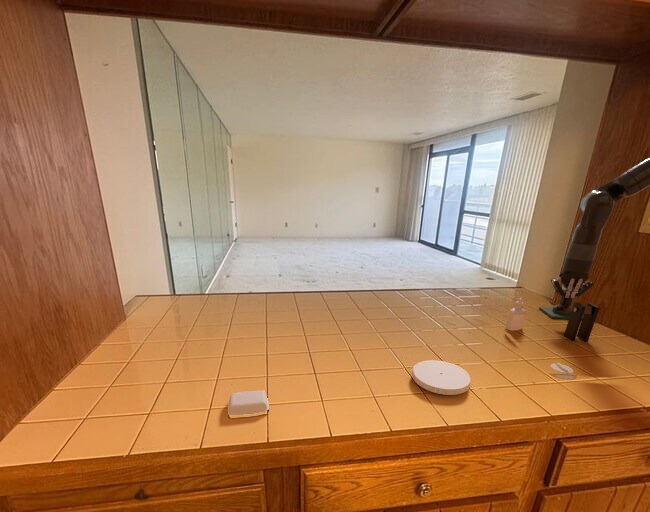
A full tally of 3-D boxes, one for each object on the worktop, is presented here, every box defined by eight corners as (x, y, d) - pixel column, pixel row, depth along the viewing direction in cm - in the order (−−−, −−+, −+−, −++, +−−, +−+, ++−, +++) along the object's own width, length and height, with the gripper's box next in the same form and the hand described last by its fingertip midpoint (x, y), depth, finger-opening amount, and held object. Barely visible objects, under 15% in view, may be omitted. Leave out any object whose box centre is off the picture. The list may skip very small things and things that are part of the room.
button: (565, 307, 132) (567, 302, 131) (571, 310, 128) (572, 306, 128) (555, 306, 132) (557, 302, 131) (561, 310, 128) (562, 305, 128)
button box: (569, 313, 136) (572, 304, 134) (585, 323, 126) (588, 313, 125) (538, 312, 136) (540, 302, 135) (550, 321, 127) (553, 311, 126)
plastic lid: (431, 362, 97) (432, 355, 96) (479, 384, 88) (481, 375, 87) (400, 380, 89) (401, 371, 88) (450, 405, 79) (452, 396, 78)
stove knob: (565, 366, 97) (567, 359, 96) (583, 380, 90) (585, 373, 90) (539, 365, 97) (541, 359, 96) (555, 379, 90) (557, 373, 89)
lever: (554, 312, 119) (555, 305, 119) (569, 313, 119) (570, 306, 119) (579, 313, 106) (579, 306, 106) (596, 314, 106) (597, 306, 106)
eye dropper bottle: (523, 334, 116) (532, 301, 111) (505, 333, 117) (513, 299, 112) (519, 329, 120) (527, 296, 115) (501, 328, 121) (509, 295, 116)
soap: (268, 396, 81) (267, 386, 80) (270, 415, 75) (269, 403, 74) (228, 400, 79) (227, 390, 78) (227, 420, 73) (225, 408, 72)
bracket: (553, 334, 117) (564, 298, 112) (578, 336, 116) (590, 300, 111) (570, 348, 107) (582, 309, 103) (597, 349, 107) (611, 311, 102)
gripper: (564, 258, 108) (549, 310, 115) (609, 260, 107) (591, 312, 114) (552, 253, 115) (538, 302, 122) (594, 255, 114) (578, 304, 121)
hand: (564, 307), depth 118 cm, fingers closed
